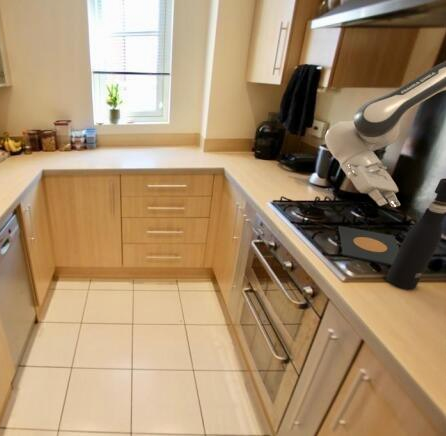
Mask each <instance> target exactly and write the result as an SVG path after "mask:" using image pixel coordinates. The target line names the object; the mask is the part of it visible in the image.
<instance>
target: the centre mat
mask: <svg viewBox="0 0 446 436" xmlns="http://www.w3.org/2000/svg"><path fill="white" fill-rule="evenodd" d="M338 232H339V233H338V234H339V239H340V247H341V253H342V256H343V257H348V258H353V259H357V260H361V261H367V262H372V263H376V264H380V265H384V266H390V267H391V266H392V264H393V262H394V260H395V258H396V255H397V253H398V251H399V249H400V246H399V244H398V241H397V239H396V237H395V235H392V234H386V233H381V232H375V231H370V230H364V229H359V228H353V227H347V226H342V225H339V226H338Z"/></svg>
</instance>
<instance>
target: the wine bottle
mask: <svg viewBox="0 0 446 436" xmlns="http://www.w3.org/2000/svg"><path fill="white" fill-rule="evenodd" d="M434 194H436V196H435V198H434V200H433V201H432V202H431V203H429V205H428V207H427V208H426V209H425V211H424V212H423V215H422V216H421V218H420V219H419V220H418V221H417V222H416V223H414V224H413V225H412V226H411V227H410V229H409V230H408V232H407V233H406V235H405V236H404V239H403V241H402V243H401V245H400V246H399V248H400V249H399V251H398V253H397V255H396V258H395V260H394V262H393V264H392V266H390V268H389V270H388V272H387V274H386V277H385V280H386V281H387V282H388V283H389V284H391V286H393V287H396V288H398V289H402V290H406V291H412V290H415V289H416V287H417V286H418V284H419V282H420V281H421V279H422V277H423V275H424V273H425V271H426V269H427V267H428V266H429V264H430V262H431V260H432V258H433V256H434V254H435V253H436V251H437V249H438V247H439V245H440V244H441V241H442V236H443V235H442V234H443V222H444V220H445V218H446V178H444V177H443V178H441V179H439V182H438V183H437V185H436V188H435V190H434Z"/></svg>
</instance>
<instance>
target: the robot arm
mask: <svg viewBox="0 0 446 436" xmlns="http://www.w3.org/2000/svg"><path fill="white" fill-rule="evenodd" d="M443 91H444V92H445V91H446V60H445V61H442V62H440V63H439V64H437V65H434V67H432V68H430V69H428V70H427V71H425V72H423V73H421V74H420V75H418V76H416V77H415V78H413V79H411V80H410V81H409V82H407V83H405V84H403V85H402V86H400V87H399V88H396V89H395V90H393V91H391V92H390V93H388V94H385V95H381V96H380V97H377V98H374V99H371V100H369V101H367V102H365V103H364V104H363V105H361V106H360V107H359V108H358V109H357V111H356V112H355V114H354V117H353V120H340V121H338V122H336V123H334V124H333V125H331V126H330V128H328V130H327V131H326V133H325V135H324V143H325V145H326V148H327V149H328V151H329V152H330V154H331V155H332V157H333V158H334V159H335V160H337V161H338V163H339V166H340V168H341V169H342V171H343V173H344V174H345V175H346V177H347V178H348V179H349V181H351V182H352V185H353V186H354V188H356V190H357V191H358V192H359V193H361V194H365V195H368V196H369V197H370V198H371V199H372V200H373V201H375V203H376V204H377V205H378V206H379V207H384V206H386V205H388V204H389V206H391V208H394V209H395V208H398V207H400V206H401V203H400V201H399V200H398V198H397V196H396V194H397V193H398V192H399V187H398V186H397V184H396V182H395V181H394V180H393V178H392V176H391V175H390V173H389V172H388V171H387V169H388V167H387V166H386V164H384V163H383V162H382V161H381V159H379V157H378V156H377V155H376V153H375V151H378V150H380V149H383V148H386V147H388V146H390V145H392V144H393V143H395V142H396V141H397V139H398V138H399V137H400V135H401V119H402V118H403V117H404V116H405V114H406V113H407V112H408V111H409V110H412V109H413V108H415V107H416V106H418V105H420V104H421V103H423V102H425V101H427V100H428V99H430V98H432V97H433V96H435V95H436V94H438V93H441V92H443Z"/></svg>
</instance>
